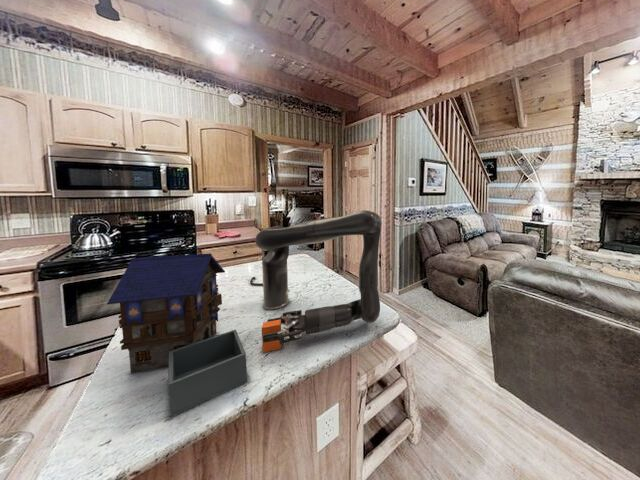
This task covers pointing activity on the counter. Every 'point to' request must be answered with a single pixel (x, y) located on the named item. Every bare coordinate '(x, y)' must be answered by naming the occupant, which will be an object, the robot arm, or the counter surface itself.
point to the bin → (205, 370)
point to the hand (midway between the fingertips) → (265, 330)
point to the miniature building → (166, 306)
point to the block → (270, 328)
